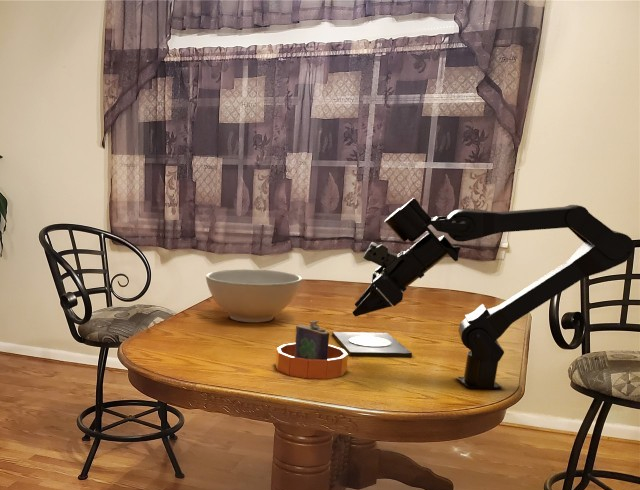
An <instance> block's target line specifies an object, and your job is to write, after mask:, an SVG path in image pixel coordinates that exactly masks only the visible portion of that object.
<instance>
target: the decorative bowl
mask: <svg viewBox="0 0 640 490" xmlns="http://www.w3.org/2000/svg"><path fill="white" fill-rule="evenodd" d="M205 279H206V280H205V281H206V284H207V287H208V290H209V292H210V294H211V297H212V299H213V300H214V301H215V303H216V304H217V305H218V306H219V308H221V309H222V310H223V311H224V312H226V313H227V314H228V315H229V318H230V319H231V320H233V321H237V322H242V323H243V322H244V323H265V322H270V321H272V320H273V319H274V316H275V315H277V314H279V313H280V312H282V311H283V310H284V309H286V308H287V307H288V306H289V304H290V303H292V301H293V299H294V298H295V296H296V294H297V293H298V292H299V289H300V286H301V284H302V281H303V280H302V277H301V276H300V275H298V274H295V273H292V272H288V271H281V270H280V271H279V270H273V269H272V270H271V269H256V268H255V269H254V268H253V269H252V268H251V269H250V268H248V269H246V268H243V269H241V268H239V269H224V270H223V269H222V270H215V271H212V272H209V273H207V274H206V275H205Z"/></svg>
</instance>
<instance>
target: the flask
mask: <svg viewBox="0 0 640 490" xmlns="http://www.w3.org/2000/svg"><path fill="white" fill-rule="evenodd" d="M308 323H309V325H304V324H298V325H297V326H296V328H295V342H294V343H295V354H294V357H298V358H305V359H327V357H328V345H329V343H330V333H329V331H326V329H325V328H321V327H320V325H318V323H320V320H312V321H311V320H310V321H309V322H308Z"/></svg>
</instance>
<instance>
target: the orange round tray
mask: <svg viewBox="0 0 640 490" xmlns="http://www.w3.org/2000/svg"><path fill="white" fill-rule="evenodd" d="M295 343H296V342H292V343H287V344H286V343H284V344H281V345H280V346H278V347H276V348H275V349H276V350H275V363H274V364H275V365H274V366H275V368H276V370H277V372H280V373H283V374H285V375H287V376H291V377H297V378H300V379H301V378H302V379H310V380H311V379H314V380H327V379H333V378H338V377H339V378H340V377H342V376H343V375H344V374H346V373H347V367H348V357H349V354H348V353H347V352H346V351H345V350H344V349H343V348H342V347H338V346H335V345H332V344H328V357H327V359H305V358H298V357H294V354H295Z"/></svg>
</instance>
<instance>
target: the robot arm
mask: <svg viewBox="0 0 640 490" xmlns="http://www.w3.org/2000/svg"><path fill="white" fill-rule="evenodd" d="M384 223H385V224H386V225H387V226H388V227H389V228H390V230H392V232H394V234H395V235H396V236H397V237H398V238H399V239H400V241H402V242H403V243H405V242H406V241H409V242H410V243H414V242H415V241H416V240H418V239H419V238H420V237H422V238H420V239H419V240H418V241H417V242H416V243H414V244H413V245H411V246H410V247H409V248H408V249H407V250H404V251H403V250H401V251H400V252H399V253H398V254H397V253H395V252H393V251H392V250H390V249H389V247H388V246H386V245H384V244H382V243H381V244H377V243H375V242H373V241H372V242H371V243H370V244H369V246H368V248H367V249H366V251H365V253H364V254H363V256H362V258H363V260H365V261H367V262H372V263H374V264H376V265H378V267H377V268H375V269H374V271H373V272H372V278H371V283H370V284H369V286H368V287H367V288H366V290H365V291H364V292H363V293H362V294H361V295H360V297H359V298H358V299H357V301H355V303H354V306H355V307H356V308H355V309H354V310H353V311H352V315H353V316H354V317H360V316H363V315H366V314H369V313H373V312H376V311H380V310H383V309H388V308H391V307H396V306H397V305H398V304H399V303H401V302H402V301H403V297H404V292H405V291H407V290H408V289H407V288H408V287H409V286H410V285H411V284H413V283H414V282H416V281H417V280H418V279H422V278H423V277H424V276H425V274H426V273H427V272H428V271H429V270H431V269H432V268H433V267H434V266H436V265H437V264H438V263H440V262H441V261H442V260H444V259H445V258H446V257H447V256H449V257H450V258H451V259H452V260H453V261H454V262H458V261H459V254H460V251H461V246H460V245H453V244H452V243H451V242H450V241H449V240H448V238H447V237H446V236H445V235H441V236H440V237H438V236H437V235H436V234H435V233H434V232H433V230H432V229H430V228H429V226H430V225H431V226H432V227H433V229H434V230H435V231H436V232H439V233H444V234H447V236H448V237H450V239H452V240H454V241H456V242H461V243H462V242H463V243H464V242H469V241H473V240H477V239H482V238H485V237H489V236H492V235H495V234H501V233H512V232H527V231H539V230H554V229H569V230H570V231H571V232H572V233H573V234H574V235H575V236H576V237H577V238H578V239H579V240H580V241H581V242H583V244H581V245H580V246H579V247H578V248H577V249H576V250H575V252H574V253H573V254H572V255H571V256H570V257H569V259H567V260H566V261H564V262H563V263H562V264H560V265H558V266H557V267H556V268H554V269H553V270H550V271H549V272H548V273H547V274H545V275H543V276H542V277H540V278H538V279H537V280H535V281H534V282H532V283H531V284H529V285H528V286H526V287H525V288H523V289H522V290H519V292H517V293H516V294H513V295H512V296H510V297H509V298H508V299H506V300H505V301H503V302H502V303H500V304H498V305H496V306H492V307H490V308H487V307H486V305H485V304H484V303H481V304H480V305H479V306H477V308H475V310H474V311H472V312H470V313H466V314H464V319H463V320H462V321H461V322H460V323H459V326H458V336H459V338H460V341H461V342H462V344H463V345H464V347H465V348H466V349H468V352H467V354H466V362H465V367H464V374H463V376H457V377H456V380H457V381H458V382H460V383H461V385H463V386H465V387H466V388H467V389H474V390H475V389H479V390H481V389H483V390H502V388H503V386H502V385H500V384H499V383H498V382H496V379H497V374H498V373H497V372H498V367H499V362H500V361H501V359H502V358H503V356H504V355H505V351H504V349H503V347H502V346H501V344H500V342H499V341H498V340H499V338H501V337H502V336H503V335H504V333H506V331H507V330H508V329H509V327H511V325H513V324H514V323H515V322H517V321H518V320H519V319H522V318H524V316H526V315H527V314H529V313H531V312H532V311H535V309H537V308H538V307H540V306H542V305H544V304H545V303H547V302H548V301H550V300H551V299H553V298H554V297H557V296H558V295H559V294H561V293H562V292H564V291H566V290H567V289H569V288H570V287H572V286H574V285H576V284H577V283H579V282H580V281H581V280H583V279H585V278H588V277H591V276H595V275H597V274H600V273H603V272H606V271H608V270H611V269H613V268H615V267H618V266H619V265H622V264H624V263H626V262H627V261H628V260H629V259H630V258H632V256H633V252H634V249H635V245H634V241H633V239H632V238H631V237H630V236H629V235H628V234H625V233H623V232H620V231H617V230H613V229H611V228H610V227H609V226H607V225H606V224H605V223H604V222H602V221H601V220H599V219H598V218H597V217H596V216H594V215H593V214H592V213H590V212H589V210H588V209H587V208H586V207H584V206H583V205H579V204H569V205H566V206H555V207H545V208H529V209H521V210H519V209H518V210H507V211H491V210H481V209H469V208H468V209H467V208H459V209H458V208H457V209H455V210H453V211H451V212H449V214H448V215H443V216H437V215H436V216H433V217H431V216H430V215H429V214H428V213H427V212H426V210H425V209H424V208H423V207H422V206H421V205H420V202H419V201H418V200H417V199H416V198H415V197H412V198H410V200H409V201H407V202H406V203H405V204H403V205H402V206H401V207H398V208H397V209H396V210H395V211H394V212H392V213H391V214H390V215H389V216H388V217H387V218H386V219H385V220H384ZM426 232H427V233H426ZM425 233H426V234H425ZM424 234H425V235H424ZM423 235H424V236H423Z"/></svg>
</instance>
